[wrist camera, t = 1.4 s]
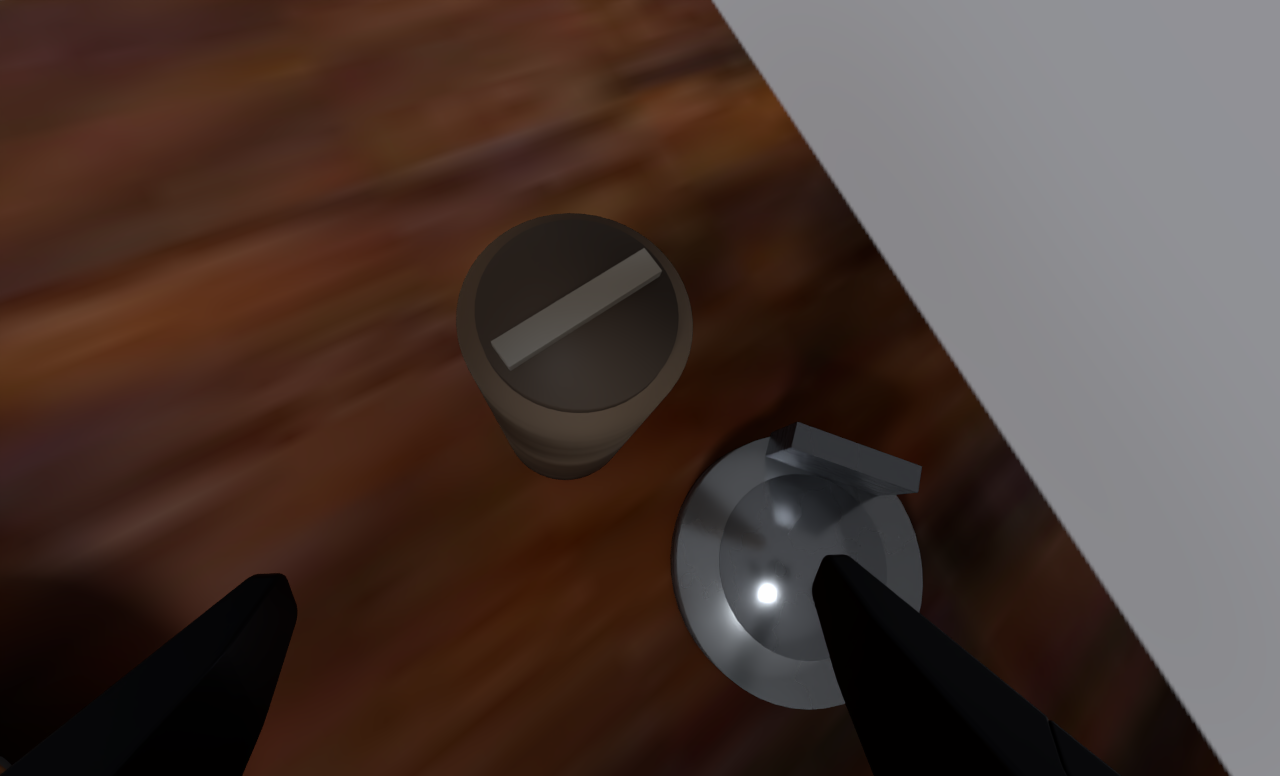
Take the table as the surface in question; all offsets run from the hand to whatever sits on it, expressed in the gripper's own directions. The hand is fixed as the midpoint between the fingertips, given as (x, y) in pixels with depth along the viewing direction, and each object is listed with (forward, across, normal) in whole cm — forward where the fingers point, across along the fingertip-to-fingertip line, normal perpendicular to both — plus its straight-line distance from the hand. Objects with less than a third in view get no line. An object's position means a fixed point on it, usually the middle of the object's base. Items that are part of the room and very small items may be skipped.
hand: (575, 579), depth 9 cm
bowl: (+8, -9, +9) cm, 15 cm away
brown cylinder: (+12, 0, +5) cm, 13 cm away
